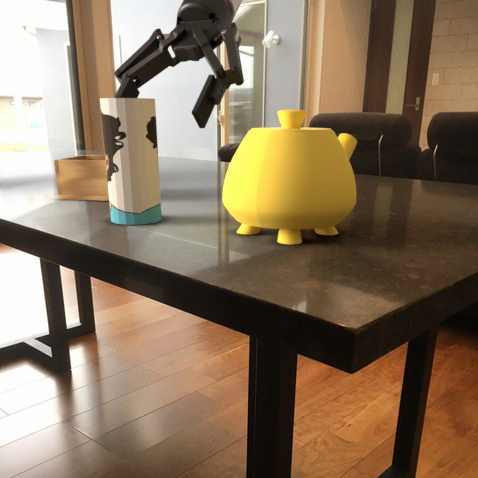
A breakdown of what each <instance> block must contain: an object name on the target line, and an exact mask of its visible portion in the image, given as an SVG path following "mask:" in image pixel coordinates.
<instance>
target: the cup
mask: <svg viewBox="0 0 478 478" xmlns="http://www.w3.org/2000/svg"><path fill="white" fill-rule="evenodd" d="M99 105H100V117H101V126H102V137H103V148H104V155H105V160H106V171H107V182H108V193H109V201H108V203H109V214H110V222H111V223H113V224H117V225H128V226H129V225H131V226H137V225H149V224H155V223H158V222H160V221H162V219H163V218H162V202H161V199H162V198H161V182H160V165H159V163H160V162H159V147H158V129H157V128H158V127H157V110H156V98H147V97H146V98H145V97H143V98H142V97H137V98H115V97H102V98H101V97H100V98H99Z"/></svg>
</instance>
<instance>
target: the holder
mask: <svg viewBox="0 0 478 478" xmlns="http://www.w3.org/2000/svg"><path fill="white" fill-rule="evenodd" d="M53 164H54V165H53V166H54V173H55V181H56V189H57V196H58V200H60V201H62V200H64V201H98V202H99V201H100V202H101V201H103V202H109V193H108V182H107V171H106V160H105V154H80V155H79V154H78V155H73V156H67V157H63V158H57V159H53Z"/></svg>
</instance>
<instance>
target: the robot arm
mask: <svg viewBox="0 0 478 478" xmlns="http://www.w3.org/2000/svg"><path fill="white" fill-rule="evenodd" d="M242 2H243V0H182V2H181V4H180V6H179V8H178V10H177V13H176V22H175V23H176V24H175V27H174V28H173V29H172V30H171V31H170V32H169V33H163V30H162V29H161V28H156V29H154V31H153V32H152V33H151V35H150V36H149V38H148V39H147V40H146V41H145V42H144V43H142V45H141V46H140V47H139V48H138V49H137V50H136V51H135V52H134V53H133V54H132V55H130V56H129V58H127V59H126V60H125V61H124V62H123V63H122V64H121V65H120V66H119V67H118V68H117V69H116V70H115V71H114V72H113V75H114V76H115V78H116V79H117V81H118V83H119V84H120V85H119V86H118V89H117V90H116V93H115V94H114V98H139V96H140V93H141V92H140V90H139V89H140V88H141V87H142V86H144V85H145V84H147V83H148V82H150V81H151V80H152V79H154V78H155V77H157V76H158V75H159V74H162V72H163V71H165V70H166V69H168V68H169V67H171V68H174V67H176V66H177V65H179V64H180V63H185V62H189V61H190V62H191V61H192V62H200V60H202V59H203V58H204V59H205V60H206V63H207V64H208V66H209V68H210V69H211V71H212V72H213V74H208V76H207V78H206V80H205V83H204V84H203V86H202V89H201V91H200V93H199V95H198V97H197V99H196V102H195V103H194V105H193V108H192V110H191V111H190V112H191V115H192V116H193V119H194V120H195V123H196V124H197V126H198V128H199V129H205V128H206V127H207V124H208V122H209V119H210V117H211V115H212V113H213V110H214V109H215V106H219V104H221V102H222V100H223V99H224V96H225V94H226V91H227V90H228V89H230V88H231V86H232V85H236V86H238V87H240V86H242V85H243V84H244V83H245V79H244V73H243V67H242V66H243V65H242V60H241V54H240V49H239V48H240V47H241V42H242V37H241V35H240V31H239V29H238V27H237V23H236V22H234V19H235V17H236V15H237V13H238V10H239V9H240V6H241V4H242ZM223 43H224V45H225V49H226V56H227V63H228V69H225V68H224V66H223V64H222V63H221V61H220V60H219V58H218V56H217V55H216V52H215V51H214V50H216V49H217V48H219V47H220V46H221V45H222V44H223ZM170 47H171V51H172V53H173V54H174V56H172V55H171V53H170V50H169V48H170Z"/></svg>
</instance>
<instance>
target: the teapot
mask: <svg viewBox="0 0 478 478" xmlns="http://www.w3.org/2000/svg"><path fill="white" fill-rule="evenodd" d="M306 114H307V111H306V110H304V109H280V110H278V111H277V116H278V120H279V123H280V127H279V126H278V127H277V126H275V127H252V128H251V129H249V130H248V131H247V133H246V134H245V136H244V138H243V139H242V141H241V142H240V144H239V146H238V148H236V151H235V153H234V155H233V156H232V158H231V161H230V163H229V165H228V168H227V171H226V173H225V177H224V181H223V187H222V204H223V206H224V207H225V209H226V210H227V211H228V213H229V214H230V216H232V217H233V218H234V220H235V221H237V222H239V223H240V227H239V228H238V229H237V230H236V233H237V234H240V235H257V234H259V233H260V232H261V230H262V228H264V229H271V230H272V229H273V230H274V229H275V230H278V233H277V243H279V244H281V245H298V244H302V243H303V238H302V232H301V231H302V230H314V232H315V234H317V235H321V236H336V235H338V234H339V232H338V230H337V228H336V227H335V226H336V225H339V224H340V223H342V221H344V220H345V218H347V217H348V215H349V214H350V213H351V212H352V211H353V210H354V208H355V207H356V204H357V195H358V193H357V183H356V176H355V174H354V170H353V167H352V164H351V161H350V160H351V157H352V156H353V153H354V151H355V149H356V147H357V144H358V140H357V138H356V137H355V136H354V135H352V134H349V133H343V132H342V133H339V135H337V134H336V132H335V131H334V130H332V128H328V127H302V125H303V123H304V120H305V117H306Z"/></svg>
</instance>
